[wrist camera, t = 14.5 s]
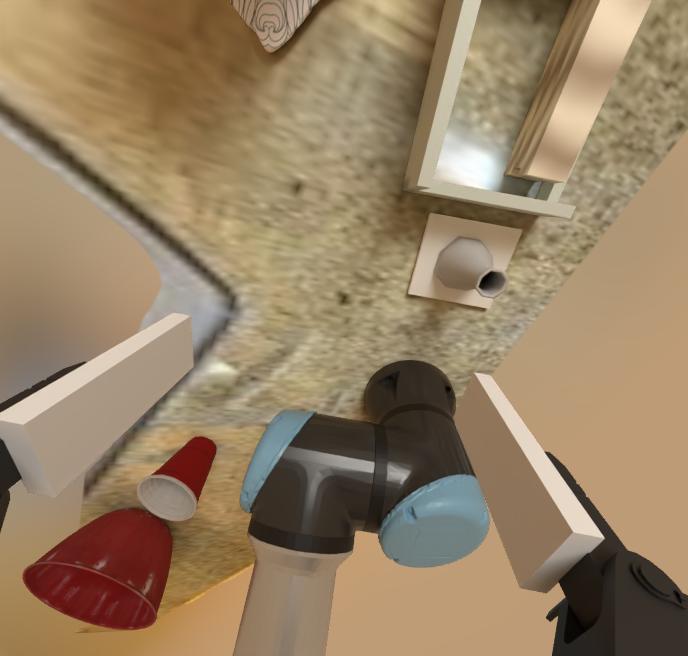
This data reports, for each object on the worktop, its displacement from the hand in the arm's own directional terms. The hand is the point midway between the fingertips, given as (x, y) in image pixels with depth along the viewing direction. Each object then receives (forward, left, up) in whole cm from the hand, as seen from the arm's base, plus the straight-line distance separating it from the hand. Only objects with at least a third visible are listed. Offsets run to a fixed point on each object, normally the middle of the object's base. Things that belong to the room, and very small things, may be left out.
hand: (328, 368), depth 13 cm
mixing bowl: (-78, +42, -29) cm, 93 cm away
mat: (+2, -15, -29) cm, 32 cm away
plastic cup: (-44, +24, -29) cm, 58 cm away
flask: (+2, -15, -28) cm, 32 cm away
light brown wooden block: (+21, -18, -29) cm, 40 cm away
